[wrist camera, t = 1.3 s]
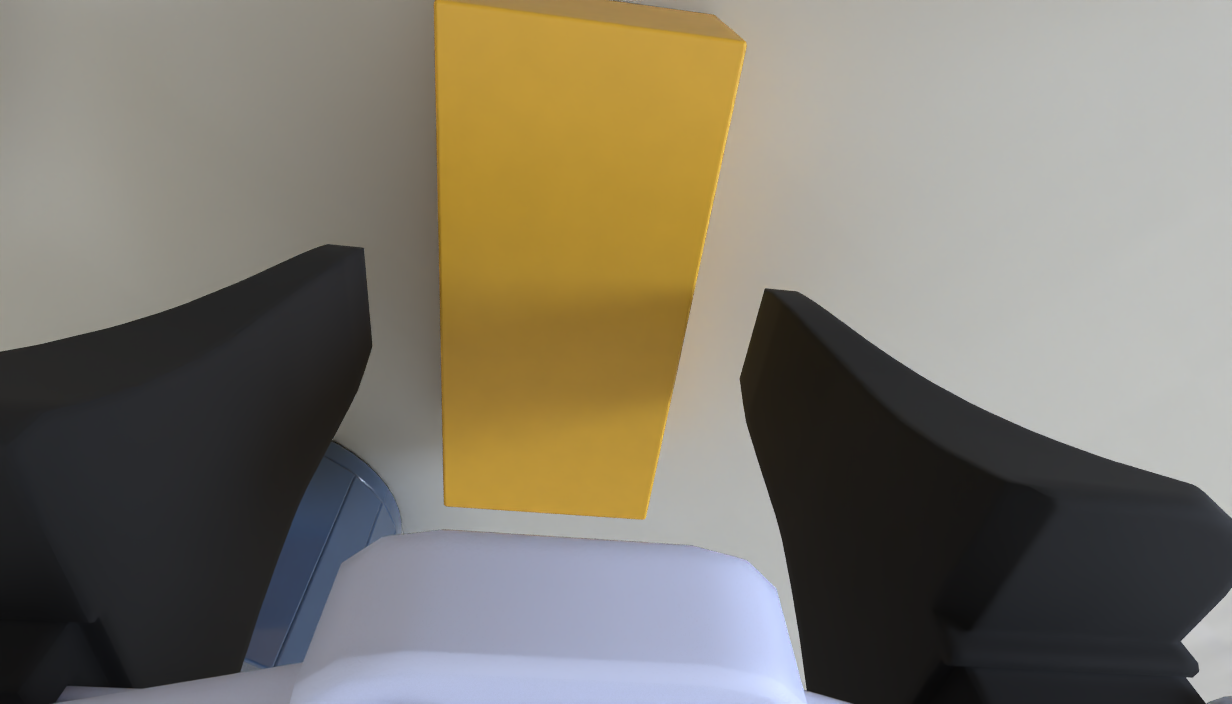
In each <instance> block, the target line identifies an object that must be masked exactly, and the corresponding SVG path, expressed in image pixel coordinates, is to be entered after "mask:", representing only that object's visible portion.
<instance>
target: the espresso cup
mask: <svg viewBox="0 0 1232 704" xmlns="http://www.w3.org/2000/svg"><path fill="white" fill-rule="evenodd" d="M399 534H402V523H401V517H400V513H399V508H398V506H397V504H396V501H395V499H394V497H393V495H392V493H391V492H390V490H389V489H388V487H387V485H386V484H385V483H384V482H383V480H382V479H381V478H380V477H379V476H378V474H377V473H376V472H375V471H373V470H372V469H371V468H370V467H369V466H368V465H367V464H366V463H365V462H364V461H362V460H361V459H360V458H358V457H357V456H356V455H354V454H353V453H351V452H350V451H348V450H347V449H345V448H343V447H342V446H340V445H338V444H337V443H335V442H332V441H331V443H330V445H329V447H328V449H327V451H326V453H325V454H324V456H323V458H322V460H321V462H320V464H319V466H318V468H317V470H316V471H315V473H314V475H313V477H312V479H311V481H310V483H309V485H308V487H307V489H306V491H305V493H304V495H303V498H302V500H301V502H300V504H299V506H298V509H297V511H296V514H295V516H294V519H293V522H292V524H291V527H290V529H289V532H288V535H287V537H286V540H285V543H284V545H283V548H282V550H281V553H280V556H279V558H278V561H277V564H276V567H275V570H274V573H273V576H272V578H271V581H270V584H269V587H268V590H267V593H266V595H265V598H264V601H263V604H262V607H261V610H260V613H259V616H258V619H257V622H256V625H255V628H254V631H253V634H252V637H251V641H250V644H249V647H248V650H247V653H246V656H245V659H244V662H243V665H242V668H241V672H247V671H253V670H259V669H266V668H272V667H278V666H284V665H290V664H296V663H302V662H303V661H304V659H305V656H306V654H307V651H308V648H309V646H310V643H311V641H312V638H313V635H314V633H315V630H316V628H317V625H318V622H319V620H320V617H321V615H322V612H323V610H324V607H325V604H326V602H327V599H328V597H329V594H330V591H331V589H332V586H333V584H334V581H335V578H336V576H337V573H338V571H339V568H340V565H341V563H342V562H344V561H345V560H347V559H349V558H350V557H352V556H353V555H355V554H356V553H358V552H359V551H361V550H363V549H364V548H366V547H367V546H369V545H370V544H372V543H373V542H375V541H377V540H378V539H380V538H381V537H386V536H391V535H399ZM241 672H240V673H241Z"/></svg>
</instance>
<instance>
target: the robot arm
mask: <svg viewBox="0 0 1232 704" xmlns="http://www.w3.org/2000/svg"><path fill="white" fill-rule="evenodd" d="M371 349H372V336H371V325H370V314H369V302H368V291H367V280H366V268H365V257H364V248H360V247H350V246H340V245H330V244H327V245H324V246H320V247H317V248H314V249H312V250H309V251H307V252H305V253H302V254H300V255H298V256H296V257H293V258H291V259H289V260H287V261H285V262H282V263H280V264H278V265H276V266H274V267H271V268H269V269H267V270H265V271H263V272H260V273H258V274H256V275H254V276H252V277H249V278H247V279H245V280H243V281H240V282H238V283H236V284H233V285H231V286H228V287H226V288H223V289H221V290H218V291H216V292H213V293H211V294H209V295H206V296H204V297H201V298H199V299H196V300H194V301H191V302H189V303H186V304H183V305H181V306H178V307H175V308H172V309H169V310H166V311H163V312H161V313H158V314H154V315H151V316H148V317H145V318H141V319H138V320H135V321H132V322H128V323H125V324H122V325H118V326H114V327H111V328H107V329H103V330H99V331H94V332H90V333H86V334H82V335H78V336H73V337H69V338H65V339H61V340H56V341H52V342H48V343H44V344H39V345H34V346H29V347H24V348H19V349H13V350H8V351H2V352H0V704H1206V703H1205V702H1204V701H1203V699H1202V698H1201V697H1200V695H1199V694H1198V693H1197V692H1196V690H1195V689H1194V688H1193V686H1192V685H1191V684H1190V682H1189V681H1188V680H1187V679H1186V677H1192V678H1193V677H1194V676H1195V675H1196V674H1197V673H1198V672H1199V666H1198V663H1197V661H1196V660H1195V659H1194V658H1193V656H1192V655H1191V654H1190V653H1189V651H1188V650H1187V649H1186V648H1185V646H1184V645H1183V644H1182V643H1181V640H1182V639H1183V638H1184V637H1185V636H1186V635H1187V634H1188V633H1189V632H1190V631H1191V630H1192V629H1193V628H1194V627H1195V626H1196V625H1197V624H1198V623H1199V622H1200V621H1201V620H1202V619H1203V618H1204V617H1205V616H1206V615H1207V614H1208V613H1209V612H1210V611H1211V610H1212V609H1213V608H1214V607H1215V606H1216V605H1217V604H1218V603H1219V602H1220V601H1221V600H1222V599H1223V598H1224V597H1225V596H1226V594H1227V593H1228V592H1229V591H1230V589H1231V588H1232V518H1231V517H1229V516H1228V515H1227V514H1226V513H1225V512H1224V511H1223V510H1222V509H1221V508H1220V507H1219V506H1218V505H1217V504H1216V503H1215V502H1214V501H1213V500H1212V499H1211V498H1210V497H1209V496H1208V495H1207V494H1206V493H1204V492H1203V491H1202V490H1201V489H1199V488H1198V487H1196V486H1194V485H1192V484H1189V483H1186V482H1182V481H1179V480H1176V479H1172V478H1169V477H1166V476H1162V475H1159V474H1155V473H1152V472H1149V471H1145V470H1142V469H1139V468H1135V467H1132V466H1128V465H1125V464H1122V463H1118V462H1115V461H1112V460H1109V459H1106V458H1103V457H1100V456H1097V455H1094V454H1091V453H1089V452H1086V451H1083V450H1080V449H1078V448H1075V447H1072V446H1069V445H1066V444H1064V443H1061V442H1058V441H1056V440H1053V439H1051V438H1048V437H1045V436H1043V435H1040V434H1038V433H1035V432H1033V431H1030V430H1028V429H1026V428H1023V427H1021V426H1019V425H1017V424H1014V423H1012V422H1010V421H1008V420H1005V419H1003V418H1001V417H999V416H997V415H994V414H992V413H990V412H988V411H986V410H984V409H982V408H979V407H977V406H975V405H973V404H971V403H969V402H967V401H965V400H964V399H962V398H960V397H958V396H956V395H954V394H952V393H951V392H949V391H947V390H945V389H943V388H941V387H940V386H938V385H936V384H934V383H932V382H931V381H929V380H927V379H926V378H924V377H922V376H920V375H919V374H917V373H916V372H914V371H913V370H911V369H909V368H908V367H906V366H905V365H903V364H902V363H900V362H899V361H897V360H895V359H894V358H892V357H891V356H889V355H888V354H886V353H885V352H884V351H882V350H881V349H879V348H878V347H876V346H875V345H873V344H872V343H871V342H869V341H868V340H866V339H865V338H864V337H862V336H861V335H859V334H858V333H857V332H855V331H854V330H853V329H851V328H850V327H848V326H847V325H846V324H844V323H843V322H842V321H840V320H839V319H838V318H836V317H835V316H834V315H832V314H831V313H829V312H828V311H827V310H825V309H824V308H823V307H821V306H820V305H818V304H817V303H815V302H814V301H812V300H811V299H809V298H808V297H806V296H804V295H803V294H801V293H799V292H796V291H786V290H776V289H766V288H765V290H764V294H763V297H762V301H761V304H760V308H759V312H758V315H757V319H756V322H755V326H754V329H753V333H752V337H751V340H750V344H749V347H748V351H747V354H746V358H745V362H744V365H743V369H742V372H741V376H740V384H741V392H742V399H743V406H744V412H745V418H746V423H747V426H748V430H749V433H750V436H751V440H752V443H753V446H754V449H755V453H756V456H757V459H758V462H759V465H760V468H761V472H762V475H763V478H764V481H765V484H766V487H767V490H768V493H769V497H770V500H771V503H772V506H773V509H774V512H775V515H776V519H777V522H778V526H779V530H780V534H781V537H782V542H783V547H784V552H785V557H786V562H787V568H788V573H789V578H790V583H791V589H792V595H793V601H794V607H795V613H796V619H797V625H798V631H799V637H800V644H801V651H802V659H803V666H804V673H805V680H806V688H807V691H806V690H803V686H802V683H801V679H800V675H799V671H798V668H797V664H796V660H795V656H794V653H793V649H792V645H791V641H790V638H789V634H788V630H787V626H786V623H785V619H784V615H783V612H782V608H781V604H780V600H779V597H778V593H777V589H776V588H775V587H774V586H773V585H772V584H771V583H770V582H769V581H768V580H767V579H766V578H765V577H764V576H763V575H762V574H761V573H760V572H759V571H758V570H757V569H756V568H755V567H754V566H753V565H752V564H750V563H749V562H748V561H747V560H745V559H742V558H738V557H735V556H731V555H727V554H723V553H719V552H715V551H712V550H708V549H704V548H700V547H696V546H692V545H680V544H664V543H649V542H633V541H618V540H602V539H586V538H571V537H555V536H540V535H524V534H509V533H493V532H477V531H462V530H446V529H442V530H433V531H425V532H416V533H408V534H399V535H391V536H386V537H381V538H380V539H378V540H377V541H375V542H373V543H372V544H370V545H369V546H367V547H366V548H364V549H363V550H361V551H359V552H358V553H356V554H355V555H353V556H352V557H350V558H349V559H347V560H345V561H344V562H342V563H341V565H340V568H339V571H338V573H337V576H336V578H335V581H334V584H333V586H332V589H331V591H330V594H329V597H328V599H327V602H326V604H325V607H324V610H323V612H322V615H321V617H320V620H319V622H318V625H317V628H316V630H315V633H314V635H313V638H312V641H311V643H310V646H309V648H308V651H307V654H306V656H305V659H304V661H303V662H302V663H296V664H290V665H284V666H278V667H272V668H266V669H259V670H253V671H247V672H241V668H242V665H243V662H244V659H245V656H246V653H247V650H248V647H249V644H250V641H251V637H252V634H253V631H254V628H255V625H256V622H257V619H258V616H259V613H260V610H261V607H262V604H263V601H264V598H265V595H266V593H267V590H268V587H269V584H270V581H271V578H272V576H273V573H274V570H275V567H276V564H277V561H278V558H279V556H280V553H281V550H282V548H283V545H284V543H285V540H286V537H287V535H288V532H289V529H290V527H291V524H292V522H293V519H294V516H295V514H296V511H297V509H298V506H299V504H300V502H301V500H302V498H303V495H304V493H305V491H306V489H307V487H308V485H309V483H310V481H311V479H312V477H313V475H314V473H315V471H316V470H317V468H318V466H319V464H320V462H321V460H322V458H323V456H324V454H325V453H326V451H327V449H328V447H329V445H330V443H331V441H332V439H333V437H334V435H335V434H336V432H337V430H338V428H339V426H340V424H341V422H342V420H343V418H344V416H345V414H346V412H347V411H348V409H349V407H350V405H351V403H352V401H353V399H354V397H355V395H356V393H357V391H358V388H359V385H360V382H361V380H362V377H363V374H364V371H365V368H366V365H367V362H368V358H369V355H370V352H371ZM240 672H241V673H240ZM1207 704H1232V696H1228V697H1222V698H1219V699H1216V700H1213V701H1210V702H1208V703H1207Z"/></svg>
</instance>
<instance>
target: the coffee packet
mask: <svg viewBox="0 0 1232 704" xmlns="http://www.w3.org/2000/svg"><path fill="white" fill-rule="evenodd" d="M434 46H435V95H436V144H437V192H438V241H439V290H440V339H441V388H442V437H443V486H444V505H445V506H448V507H463V508H478V509H493V510H508V511H523V512H537V513H552V514H567V515H582V516H597V517H612V518H627V519H641V520H643V519H645V518H646V514H647V510H648V505H649V500H650V496H651V491H652V486H653V482H654V477H655V472H656V468H657V463H658V458H659V454H660V449H661V444H662V440H663V435H664V430H665V426H666V421H667V416H668V412H669V407H670V402H671V398H672V393H673V388H674V384H675V379H676V374H677V370H678V365H679V360H680V356H681V351H682V346H683V342H684V337H685V332H686V328H687V323H688V318H689V313H690V309H691V304H692V299H693V295H694V290H695V285H696V281H697V276H698V271H699V267H700V262H701V257H702V253H703V248H704V243H705V239H706V234H707V229H708V225H709V220H710V215H711V211H712V206H713V201H714V197H715V192H716V187H717V183H718V178H719V173H720V169H721V164H722V159H723V155H724V150H725V145H726V141H727V136H728V131H729V127H730V122H731V117H732V113H733V108H734V103H735V99H736V94H737V89H738V84H739V80H740V75H741V70H742V66H743V61H744V56H745V52H746V47H747V44H746V41H744V40H743V39H742V38H741V37H740V36H739V35H737V34H736V33H735V32H734V31H733V30H732V29H730V28H729V27H728V26H727V25H726V24H724V23H723V22H722V21H721V20H720V19H719V18H717V17H716V16H715V15H712V14H704V13H697V12H690V11H683V10H675V9H668V8H661V7H654V6H647V5H639V4H632V3H625V2H618V1H610V0H435V1H434Z"/></svg>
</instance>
